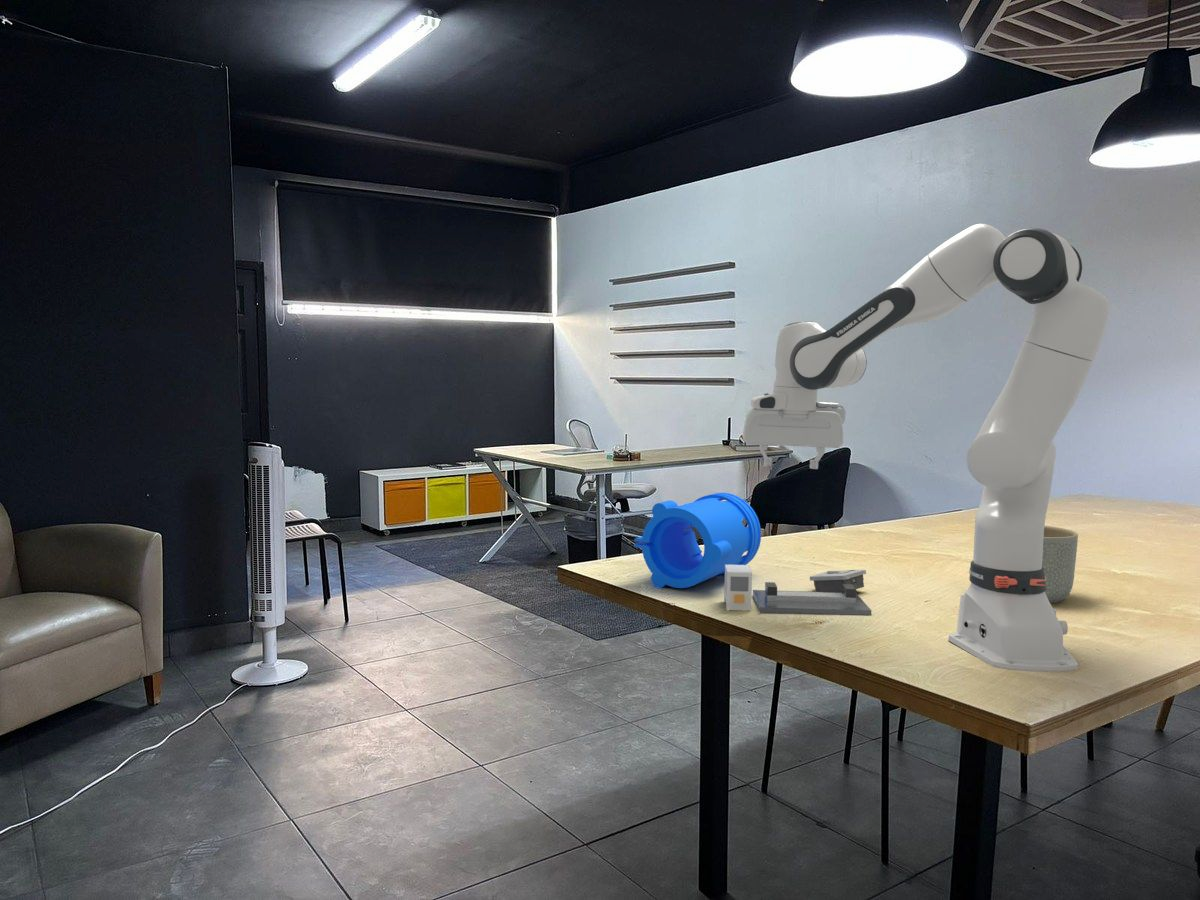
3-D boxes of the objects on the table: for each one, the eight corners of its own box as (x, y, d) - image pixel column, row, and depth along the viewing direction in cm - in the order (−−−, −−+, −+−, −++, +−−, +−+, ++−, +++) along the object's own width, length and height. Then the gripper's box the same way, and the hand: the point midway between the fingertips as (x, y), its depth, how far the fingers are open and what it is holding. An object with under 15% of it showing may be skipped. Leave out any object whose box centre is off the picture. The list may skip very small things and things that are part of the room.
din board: (871, 617, 171) (872, 595, 171) (759, 614, 173) (760, 592, 173) (855, 599, 185) (856, 579, 185) (752, 596, 187) (753, 576, 186)
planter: (1026, 612, 176) (1030, 539, 175) (970, 592, 192) (973, 524, 191) (1092, 607, 181) (1097, 535, 179) (1032, 588, 197) (1036, 522, 196)
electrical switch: (868, 569, 190) (844, 567, 184) (869, 593, 189) (845, 591, 183) (831, 571, 197) (807, 569, 191) (832, 593, 196) (808, 592, 190)
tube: (684, 564, 219) (685, 489, 217) (764, 576, 207) (767, 496, 205) (633, 583, 198) (634, 500, 196) (720, 598, 186) (722, 509, 184)
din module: (751, 612, 175) (752, 573, 174) (726, 611, 175) (727, 572, 174) (747, 602, 182) (748, 565, 182) (724, 601, 183) (724, 564, 182)
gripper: (843, 402, 179) (838, 468, 181) (744, 398, 181) (740, 463, 182) (849, 403, 173) (844, 471, 174) (746, 399, 174) (743, 467, 176)
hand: (790, 467), depth 178 cm, fingers open, 8 cm apart
